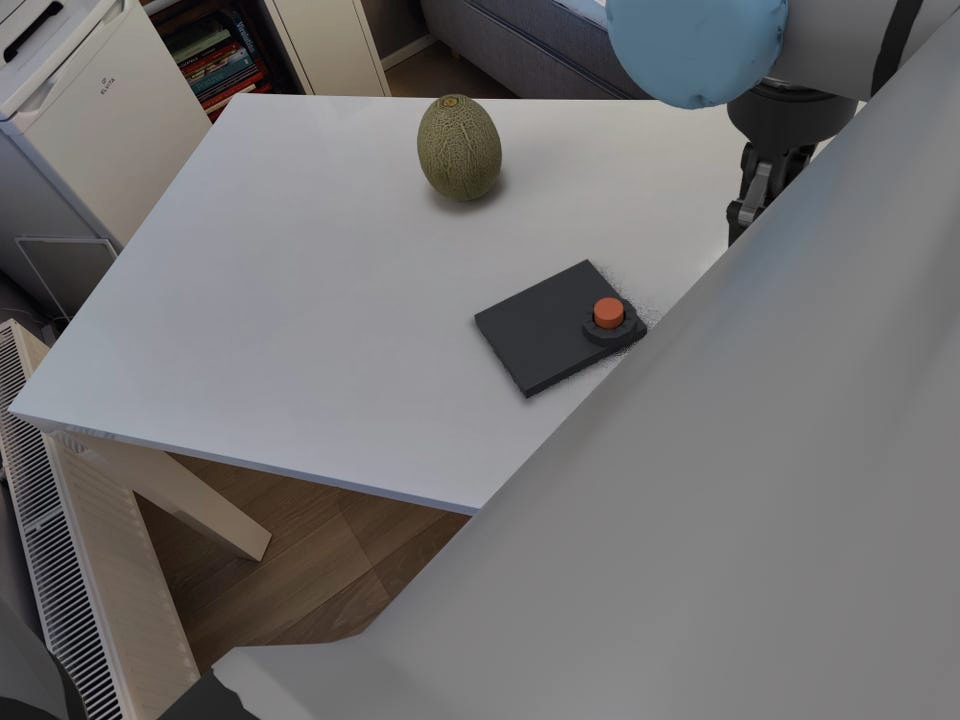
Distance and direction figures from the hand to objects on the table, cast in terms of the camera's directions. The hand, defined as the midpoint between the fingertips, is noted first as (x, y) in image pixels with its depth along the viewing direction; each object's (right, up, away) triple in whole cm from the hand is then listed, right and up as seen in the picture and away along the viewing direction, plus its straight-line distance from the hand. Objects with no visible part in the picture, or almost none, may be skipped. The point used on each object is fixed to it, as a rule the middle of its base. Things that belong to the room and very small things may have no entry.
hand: (746, 311), depth 60 cm
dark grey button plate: (-13, -1, +24) cm, 28 cm away
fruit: (-24, +20, +42) cm, 52 cm away
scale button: (-8, +1, +20) cm, 22 cm away
